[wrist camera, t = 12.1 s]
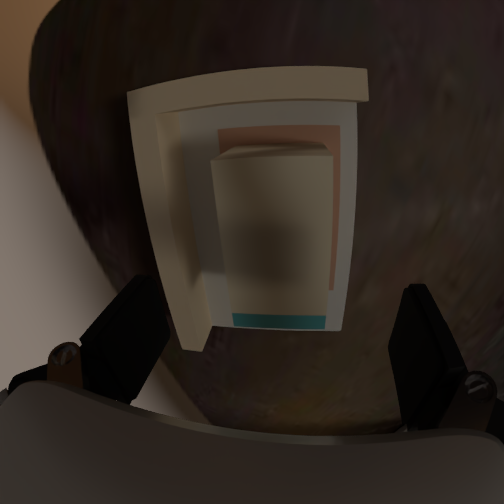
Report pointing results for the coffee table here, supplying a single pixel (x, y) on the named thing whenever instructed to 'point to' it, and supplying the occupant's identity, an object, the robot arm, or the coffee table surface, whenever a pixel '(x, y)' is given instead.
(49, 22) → the coffee table surface
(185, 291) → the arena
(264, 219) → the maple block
